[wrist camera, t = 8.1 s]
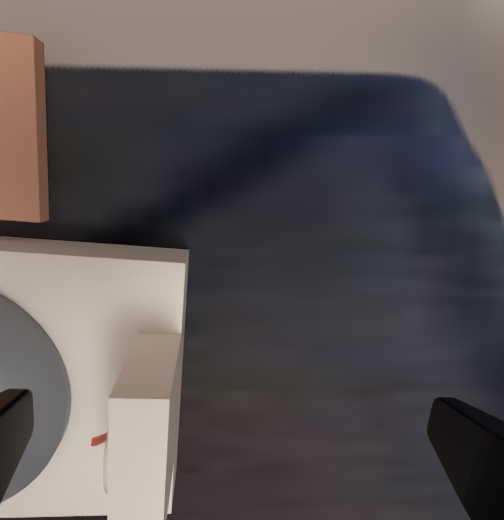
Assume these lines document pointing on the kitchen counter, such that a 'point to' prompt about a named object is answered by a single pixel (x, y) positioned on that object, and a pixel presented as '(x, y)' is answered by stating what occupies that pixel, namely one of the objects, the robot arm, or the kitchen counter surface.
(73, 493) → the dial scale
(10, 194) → the rubber mat
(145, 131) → the kitchen counter surface
